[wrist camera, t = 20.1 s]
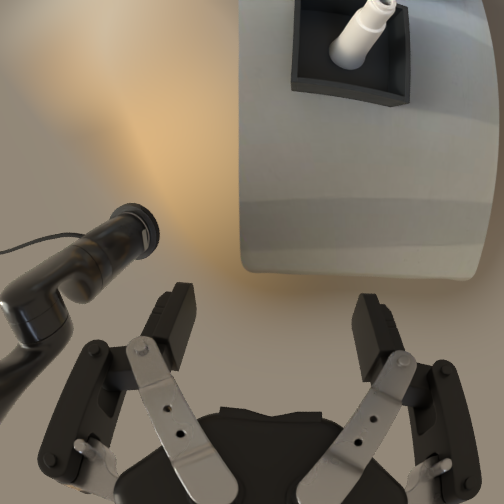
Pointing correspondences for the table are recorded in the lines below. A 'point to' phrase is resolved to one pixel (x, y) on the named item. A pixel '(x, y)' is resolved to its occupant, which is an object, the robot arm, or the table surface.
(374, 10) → the cosmetic bottle
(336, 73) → the bin
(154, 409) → the robot arm
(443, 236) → the table surface
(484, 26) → the table surface
